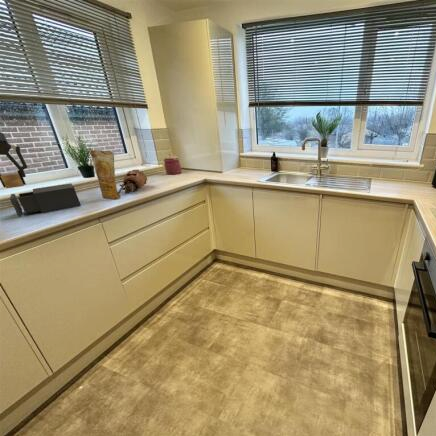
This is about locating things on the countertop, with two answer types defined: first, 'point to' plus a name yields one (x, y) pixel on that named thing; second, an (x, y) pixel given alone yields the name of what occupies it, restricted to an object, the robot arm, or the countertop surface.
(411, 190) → the countertop surface
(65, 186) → the dark grey slanted block
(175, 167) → the kitchen canister
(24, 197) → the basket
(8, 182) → the block
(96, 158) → the pancake mix bag
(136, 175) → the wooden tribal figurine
